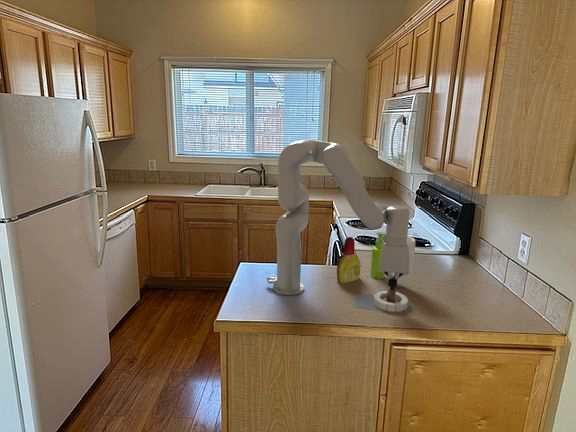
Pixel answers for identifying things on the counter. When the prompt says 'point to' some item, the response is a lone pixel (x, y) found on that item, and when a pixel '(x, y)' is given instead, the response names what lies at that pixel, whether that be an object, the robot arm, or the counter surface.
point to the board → (372, 303)
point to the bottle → (348, 263)
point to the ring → (390, 306)
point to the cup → (412, 251)
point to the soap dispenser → (377, 257)
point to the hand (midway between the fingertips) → (392, 287)
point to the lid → (390, 296)
